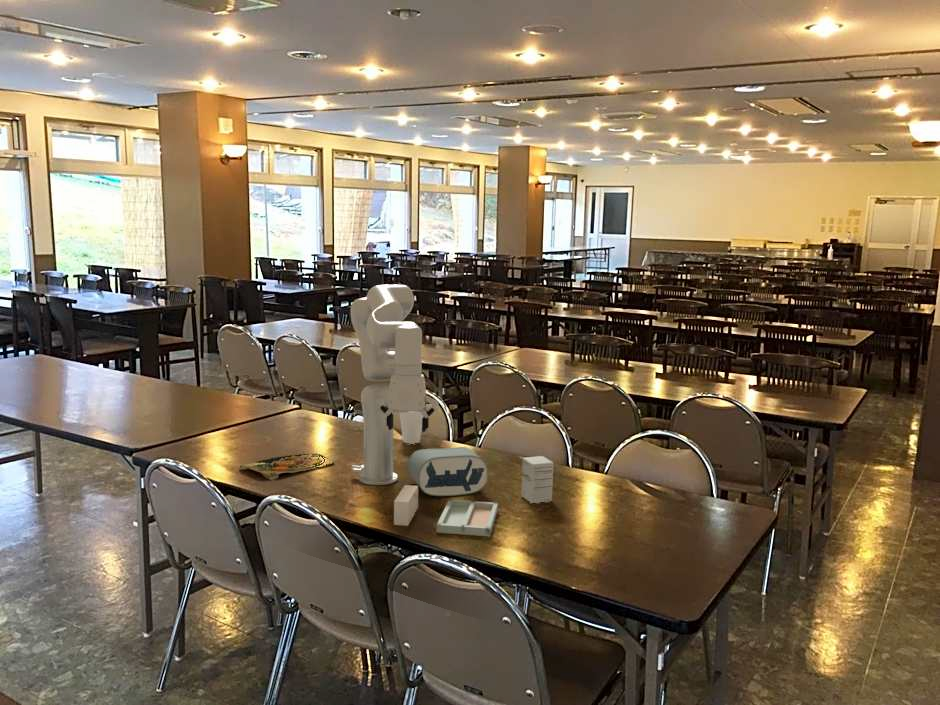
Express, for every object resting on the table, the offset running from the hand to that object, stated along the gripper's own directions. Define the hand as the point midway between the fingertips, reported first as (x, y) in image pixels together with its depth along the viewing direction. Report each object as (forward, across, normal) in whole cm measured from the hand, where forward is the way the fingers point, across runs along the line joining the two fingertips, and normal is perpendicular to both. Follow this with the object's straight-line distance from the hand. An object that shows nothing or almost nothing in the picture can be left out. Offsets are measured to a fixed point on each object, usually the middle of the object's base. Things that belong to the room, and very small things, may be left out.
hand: (407, 429), depth 224 cm
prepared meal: (+26, -49, +37) cm, 67 cm away
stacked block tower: (+26, +36, +22) cm, 49 cm away
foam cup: (+25, -15, +76) cm, 82 cm away
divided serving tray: (+26, +18, 0) cm, 31 cm away
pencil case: (+26, +7, +27) cm, 38 cm away
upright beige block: (+26, 0, 0) cm, 26 cm away
